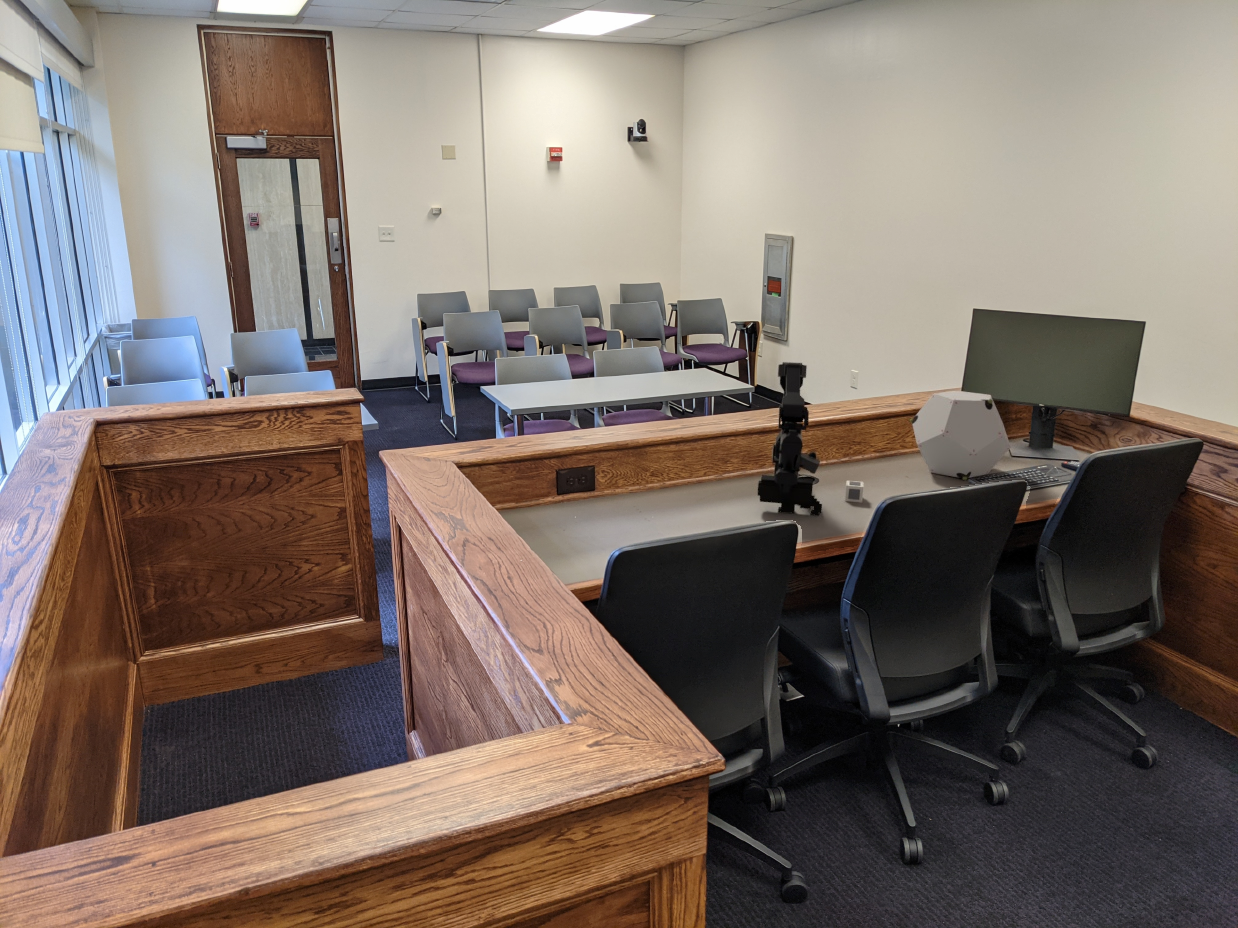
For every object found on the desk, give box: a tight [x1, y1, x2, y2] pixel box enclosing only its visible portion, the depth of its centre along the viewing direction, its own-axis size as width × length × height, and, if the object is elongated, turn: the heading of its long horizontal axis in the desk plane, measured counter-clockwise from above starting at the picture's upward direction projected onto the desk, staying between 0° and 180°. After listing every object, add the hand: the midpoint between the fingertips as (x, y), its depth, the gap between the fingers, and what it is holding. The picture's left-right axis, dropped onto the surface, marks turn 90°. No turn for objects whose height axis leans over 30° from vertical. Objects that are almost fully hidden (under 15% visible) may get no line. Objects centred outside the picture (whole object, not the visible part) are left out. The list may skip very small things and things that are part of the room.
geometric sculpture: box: [909, 390, 1012, 481], centre depth 291 cm, size 30×30×30 cm
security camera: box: [757, 474, 823, 517], centre depth 254 cm, size 7×18×10 cm, turn 77°
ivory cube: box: [844, 480, 864, 503], centre depth 266 cm, size 5×5×5 cm
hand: (786, 496), depth 254 cm, fingers open, 9 cm apart
